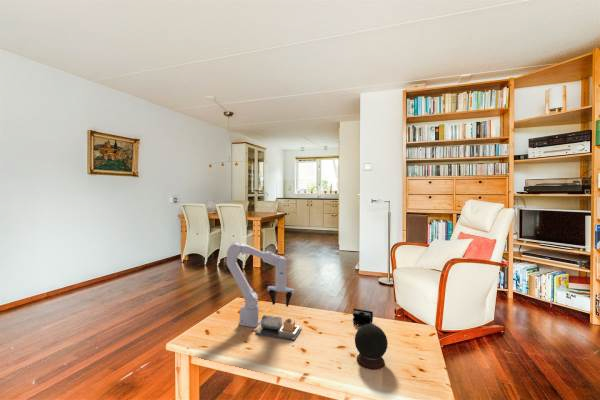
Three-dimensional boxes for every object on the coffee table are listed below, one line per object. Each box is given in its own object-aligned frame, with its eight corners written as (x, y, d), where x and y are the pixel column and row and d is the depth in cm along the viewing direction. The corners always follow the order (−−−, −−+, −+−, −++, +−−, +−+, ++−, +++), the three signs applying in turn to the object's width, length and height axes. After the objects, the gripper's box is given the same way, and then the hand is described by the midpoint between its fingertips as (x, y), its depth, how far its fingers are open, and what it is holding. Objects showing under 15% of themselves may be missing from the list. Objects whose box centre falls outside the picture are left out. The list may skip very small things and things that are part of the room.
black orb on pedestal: (386, 355, 124) (387, 321, 123) (387, 374, 111) (388, 335, 111) (355, 350, 127) (356, 317, 127) (352, 367, 115) (353, 330, 114)
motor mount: (255, 334, 141) (255, 320, 141) (265, 323, 152) (265, 310, 152) (294, 340, 135) (294, 326, 135) (301, 329, 146) (301, 315, 146)
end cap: (373, 322, 157) (373, 309, 157) (370, 327, 150) (371, 314, 150) (354, 318, 161) (354, 306, 160) (351, 323, 154) (352, 311, 154)
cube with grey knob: (283, 333, 140) (283, 320, 140) (286, 329, 144) (286, 317, 144) (292, 334, 139) (292, 322, 139) (294, 330, 143) (295, 318, 143)
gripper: (265, 280, 152) (265, 306, 152) (291, 283, 148) (291, 309, 148) (270, 276, 159) (270, 301, 159) (295, 279, 154) (295, 304, 155)
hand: (280, 305), depth 154 cm, fingers open, 7 cm apart
